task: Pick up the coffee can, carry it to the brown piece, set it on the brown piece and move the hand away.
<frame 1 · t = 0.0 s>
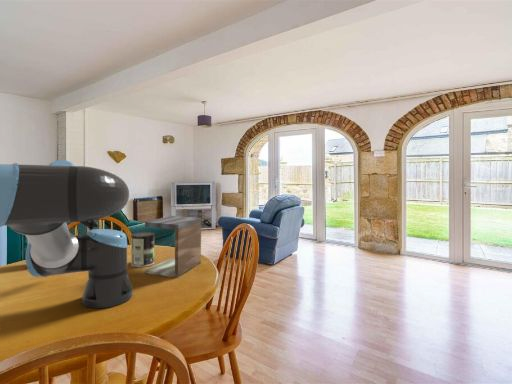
hand: (69, 239, 114), 15 cm above the table, tool tilted 35°, fingers open, 13 cm apart
brown piece: (174, 267, 128), on the table
coffee can: (142, 264, 133), on the table
milk carton: (41, 265, 127), on the table
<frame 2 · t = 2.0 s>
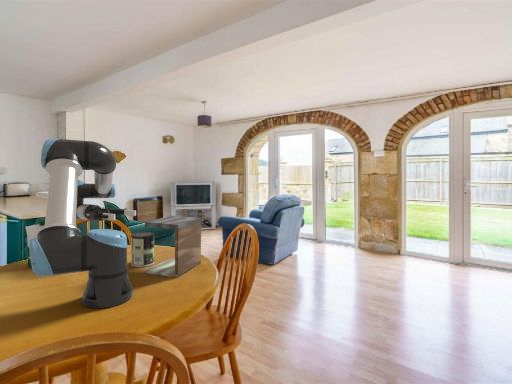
hand: (125, 215, 134), 22 cm above the table, tool horizontal, fingers open, 13 cm apart
nothing on the table moved.
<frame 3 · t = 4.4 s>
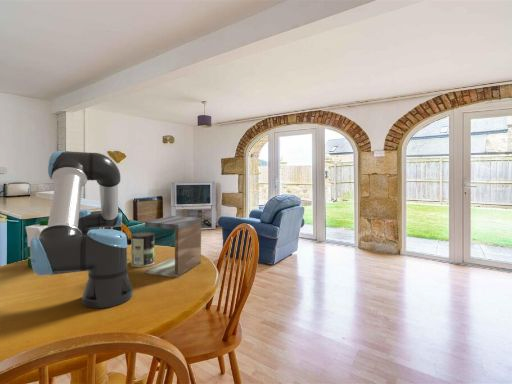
hand: (133, 246, 135), 7 cm above the table, tool horizontal, fingers open, 13 cm apart
nothing on the table moved.
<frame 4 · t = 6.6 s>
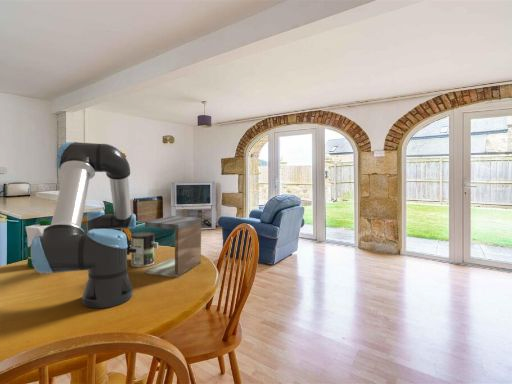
hand: (150, 248, 131), 8 cm above the table, tool horizontal, fingers closed on coffee can, 10 cm apart
coffee can: (142, 263, 133), on the table, touching gripper
everything else where it was.
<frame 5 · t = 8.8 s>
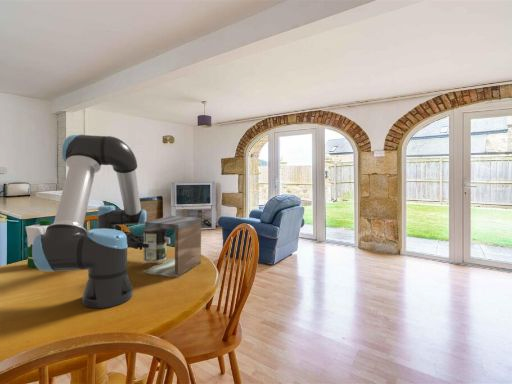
hand: (163, 243, 130), 10 cm above the table, tool horizontal, fingers closed on coffee can, 10 cm apart
coffee can: (154, 259, 132), point 2 cm above the table, touching gripper
everything else where it was.
when the fingers open (10 cm above the table, at t = 11.5 s): coffee can stays where it is, resting on brown piece.
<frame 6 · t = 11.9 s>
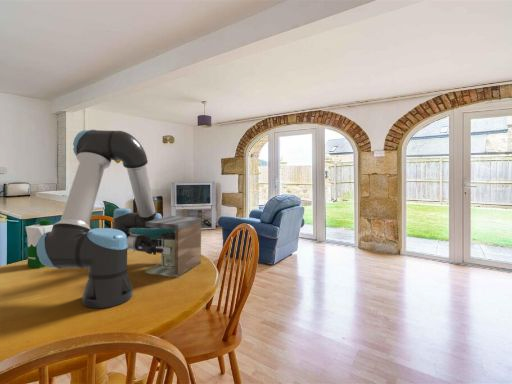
hand: (179, 247, 127), 10 cm above the table, tool horizontal, fingers open, 13 cm apart
coffee can: (172, 265, 129), point 1 cm above the table, touching brown piece
everything else where it was.
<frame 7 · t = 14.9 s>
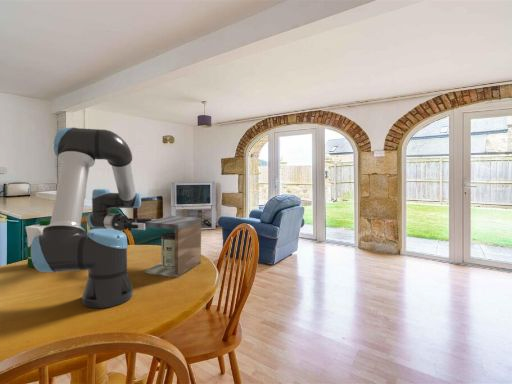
hand: (154, 224, 131), 19 cm above the table, tool horizontal, fingers open, 13 cm apart
nothing on the table moved.
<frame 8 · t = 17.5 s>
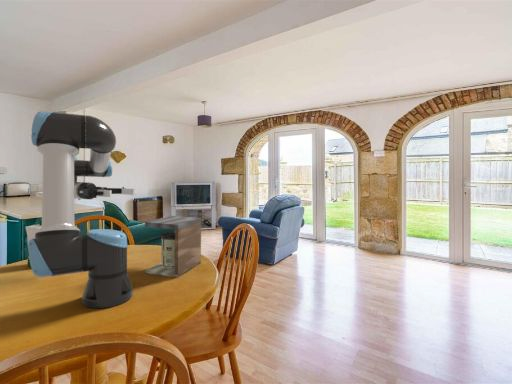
hand: (123, 192, 121), 34 cm above the table, tool horizontal, fingers open, 13 cm apart
nothing on the table moved.
at the end: coffee can inside the target area on the brown piece (1.1 cm from its centre), point 0.8 cm above the brown piece's base; coffee can tilted 0°; the gripper is holding nothing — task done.
